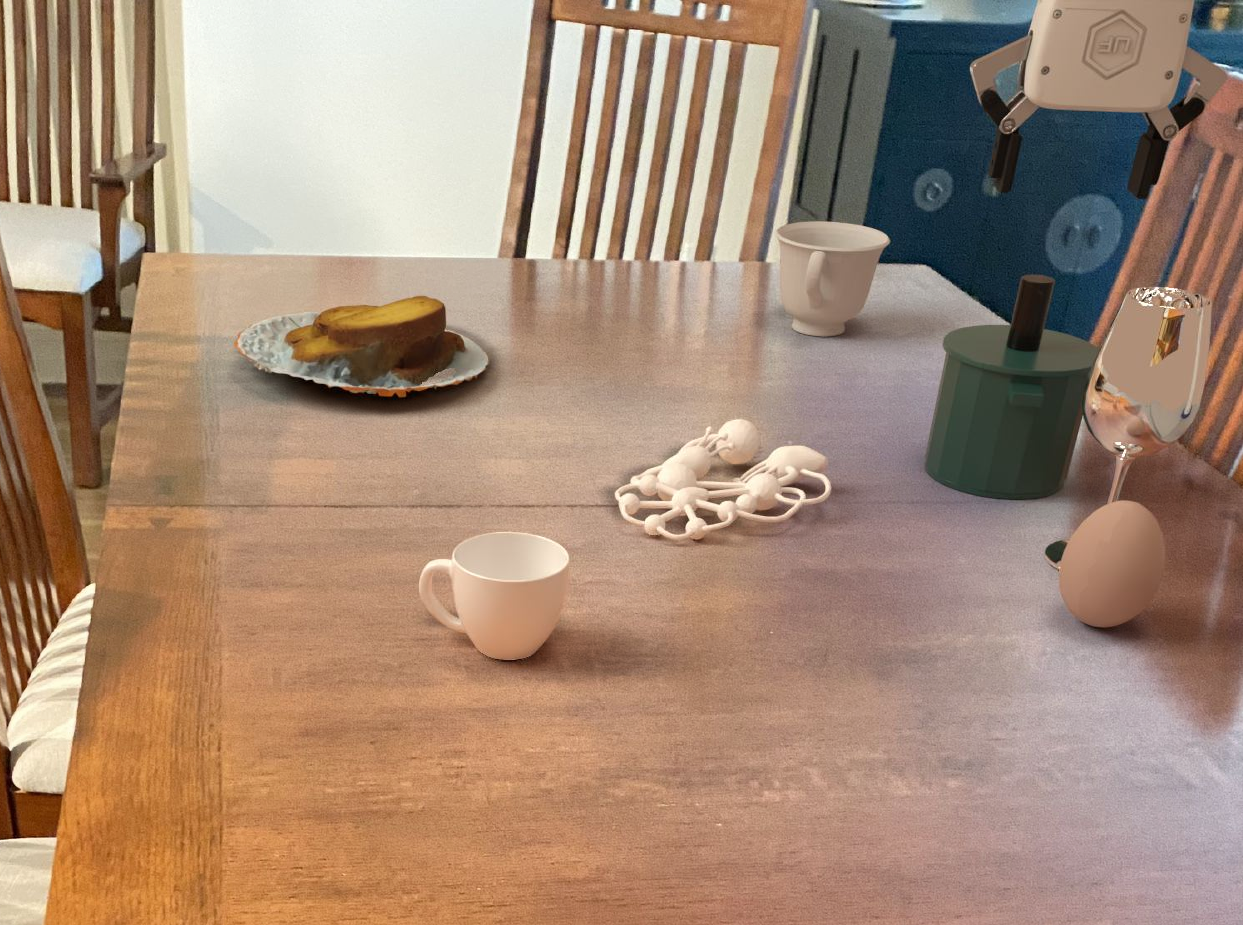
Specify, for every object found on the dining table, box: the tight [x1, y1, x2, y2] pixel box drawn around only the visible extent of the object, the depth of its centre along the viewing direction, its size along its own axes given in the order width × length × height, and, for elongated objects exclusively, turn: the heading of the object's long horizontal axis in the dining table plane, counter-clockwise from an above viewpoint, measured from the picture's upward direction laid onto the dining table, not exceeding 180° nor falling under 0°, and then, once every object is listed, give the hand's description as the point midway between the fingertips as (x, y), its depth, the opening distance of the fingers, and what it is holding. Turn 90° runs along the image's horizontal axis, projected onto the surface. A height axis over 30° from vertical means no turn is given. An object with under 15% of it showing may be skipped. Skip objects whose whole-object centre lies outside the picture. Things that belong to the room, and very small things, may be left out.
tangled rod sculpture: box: [614, 418, 832, 541], centre depth 122 cm, size 19×14×4 cm
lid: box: [942, 274, 1100, 377], centre depth 123 cm, size 13×13×7 cm
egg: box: [1058, 500, 1167, 629], centre depth 104 cm, size 7×7×9 cm
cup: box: [418, 531, 571, 659], centre depth 101 cm, size 8×10×7 cm
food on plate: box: [233, 295, 490, 398], centre depth 149 cm, size 25×25×7 cm
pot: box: [924, 351, 1090, 500], centre depth 127 cm, size 12×17×10 cm
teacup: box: [774, 220, 891, 338], centre depth 161 cm, size 12×15×10 cm
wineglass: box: [1043, 286, 1213, 570], centre depth 110 cm, size 8×8×20 cm
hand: (1068, 192), depth 111 cm, fingers open, 9 cm apart
